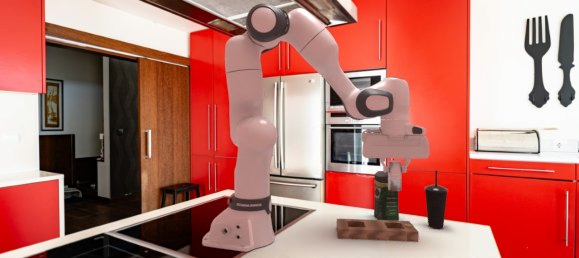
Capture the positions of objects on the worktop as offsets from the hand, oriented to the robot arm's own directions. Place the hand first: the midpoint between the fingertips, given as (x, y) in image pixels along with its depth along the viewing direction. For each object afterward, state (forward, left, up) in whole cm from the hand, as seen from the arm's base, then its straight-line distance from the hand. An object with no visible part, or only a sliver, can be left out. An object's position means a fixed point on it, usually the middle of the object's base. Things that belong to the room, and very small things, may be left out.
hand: (394, 172), depth 97 cm
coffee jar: (+1, +17, -21) cm, 27 cm away
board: (-6, 0, -21) cm, 22 cm away
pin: (0, 0, -6) cm, 6 cm away
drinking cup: (+17, +12, -21) cm, 30 cm away
